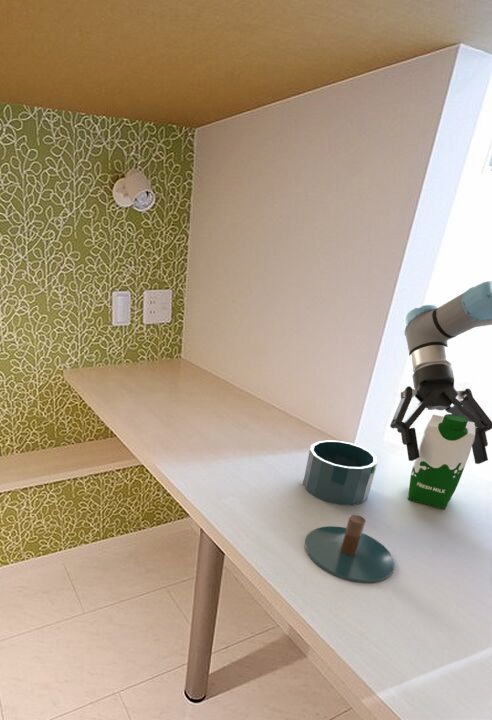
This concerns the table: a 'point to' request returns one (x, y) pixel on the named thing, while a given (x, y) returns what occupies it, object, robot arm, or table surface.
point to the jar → (339, 472)
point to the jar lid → (349, 552)
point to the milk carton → (441, 459)
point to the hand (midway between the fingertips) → (447, 460)
